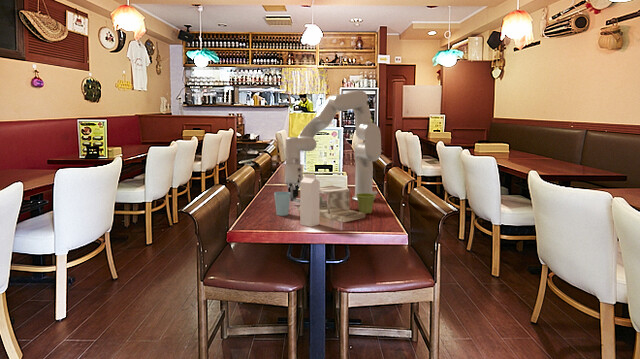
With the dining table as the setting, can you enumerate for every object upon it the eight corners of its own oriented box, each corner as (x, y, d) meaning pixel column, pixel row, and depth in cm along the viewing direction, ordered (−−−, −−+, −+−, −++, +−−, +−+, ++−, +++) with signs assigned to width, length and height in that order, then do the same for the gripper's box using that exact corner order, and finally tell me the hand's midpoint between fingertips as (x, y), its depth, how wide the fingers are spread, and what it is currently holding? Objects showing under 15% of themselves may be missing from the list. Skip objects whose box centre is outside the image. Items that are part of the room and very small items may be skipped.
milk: (308, 222, 206) (308, 172, 202) (319, 224, 202) (320, 174, 199) (299, 225, 201) (300, 174, 198) (311, 227, 197) (311, 175, 194)
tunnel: (297, 210, 229) (297, 186, 227) (318, 206, 238) (318, 183, 237) (344, 222, 206) (344, 195, 204) (365, 217, 215) (365, 191, 213)
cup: (285, 217, 215) (285, 194, 214) (271, 215, 218) (271, 193, 217) (293, 213, 222) (293, 192, 220) (279, 212, 225) (279, 191, 224)
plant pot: (377, 211, 229) (377, 193, 227) (372, 215, 220) (373, 197, 219) (358, 209, 232) (358, 192, 230) (353, 213, 223) (353, 196, 222)
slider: (284, 201, 240) (284, 186, 239) (298, 199, 246) (298, 184, 245) (313, 208, 224) (313, 191, 223) (326, 205, 230) (327, 189, 229)
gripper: (309, 162, 236) (309, 197, 238) (288, 159, 247) (288, 193, 250) (297, 163, 230) (297, 199, 233) (277, 160, 242) (277, 195, 245)
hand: (293, 196), depth 242 cm, fingers closed on slider, 3 cm apart
